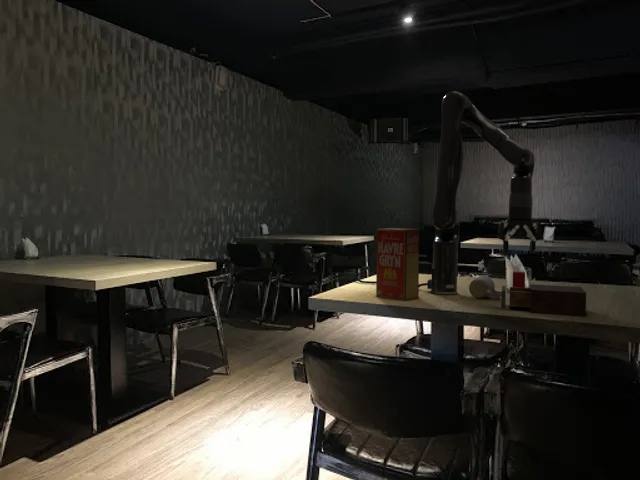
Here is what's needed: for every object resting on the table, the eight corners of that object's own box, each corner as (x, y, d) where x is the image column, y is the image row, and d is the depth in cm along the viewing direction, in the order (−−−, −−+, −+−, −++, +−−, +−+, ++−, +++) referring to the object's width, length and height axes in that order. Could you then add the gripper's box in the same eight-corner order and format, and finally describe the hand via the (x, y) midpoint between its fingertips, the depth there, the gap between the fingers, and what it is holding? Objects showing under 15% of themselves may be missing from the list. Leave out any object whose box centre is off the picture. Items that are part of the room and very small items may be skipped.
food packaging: (374, 296, 180) (375, 228, 179) (389, 293, 187) (390, 227, 186) (405, 301, 171) (406, 229, 170) (419, 297, 178) (420, 228, 176)
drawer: (484, 305, 158) (485, 289, 158) (486, 300, 169) (486, 284, 168) (549, 310, 151) (550, 293, 151) (546, 304, 162) (547, 288, 161)
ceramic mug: (467, 297, 178) (468, 276, 177) (473, 294, 184) (474, 274, 184) (497, 301, 172) (498, 279, 171) (503, 298, 179) (504, 277, 178)
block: (512, 300, 172) (512, 272, 172) (512, 299, 176) (512, 271, 176) (524, 301, 171) (525, 273, 170) (524, 299, 175) (524, 271, 174)
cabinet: (530, 312, 153) (531, 289, 152) (529, 305, 164) (529, 284, 164) (585, 316, 147) (586, 292, 147) (579, 308, 159) (580, 286, 158)
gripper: (538, 206, 175) (536, 251, 176) (496, 205, 176) (495, 250, 177) (545, 205, 167) (543, 253, 168) (502, 205, 169) (500, 252, 170)
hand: (518, 251), depth 173 cm, fingers open, 8 cm apart
